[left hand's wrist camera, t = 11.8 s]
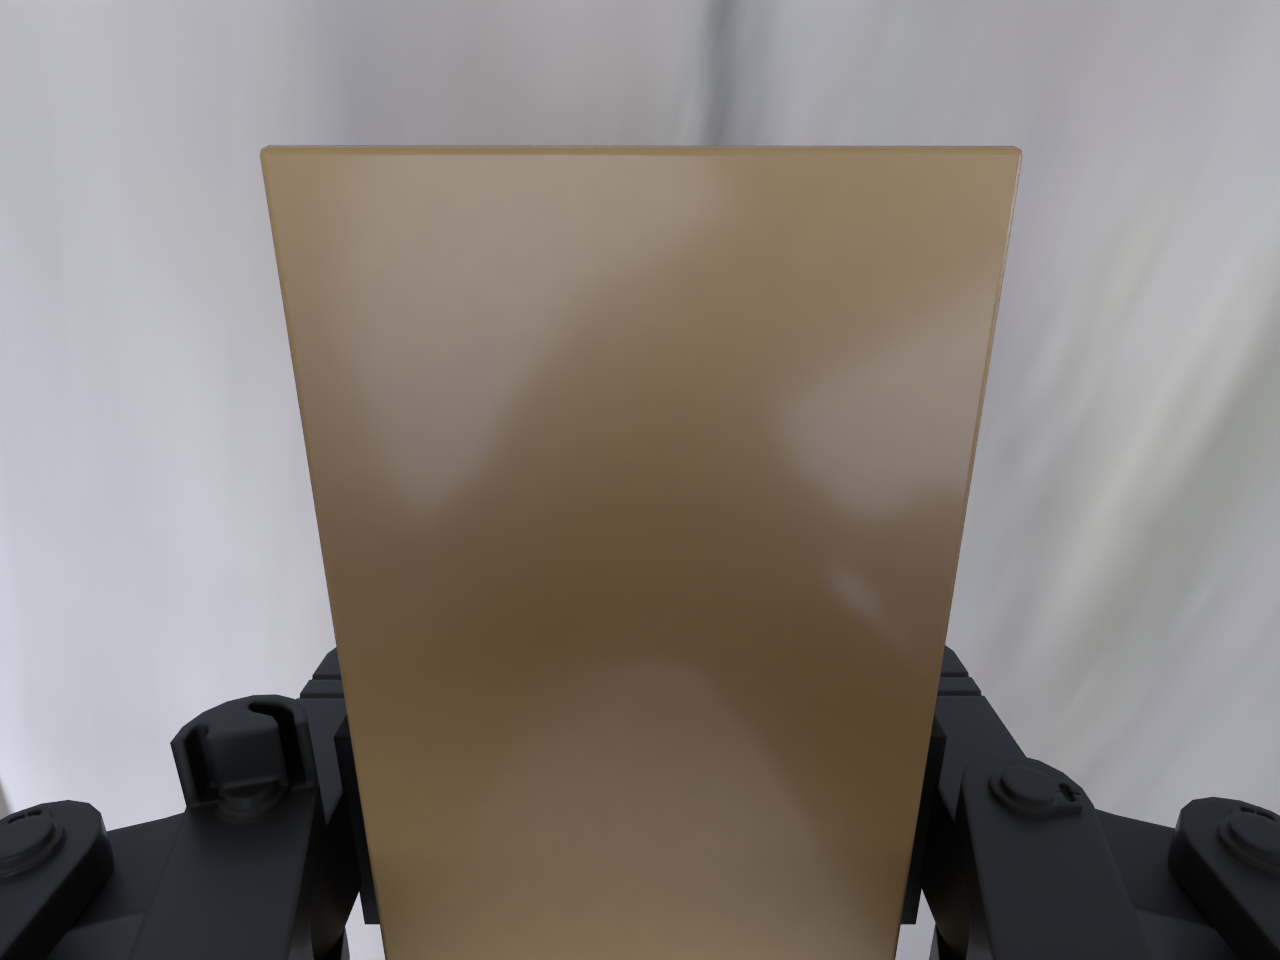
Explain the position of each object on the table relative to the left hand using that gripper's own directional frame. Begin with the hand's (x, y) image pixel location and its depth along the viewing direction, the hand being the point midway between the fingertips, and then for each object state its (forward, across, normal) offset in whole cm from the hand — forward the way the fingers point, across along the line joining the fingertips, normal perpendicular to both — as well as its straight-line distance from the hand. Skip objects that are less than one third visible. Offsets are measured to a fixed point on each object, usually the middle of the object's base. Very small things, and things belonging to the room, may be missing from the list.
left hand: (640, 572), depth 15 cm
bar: (+1, 0, -24) cm, 24 cm away
